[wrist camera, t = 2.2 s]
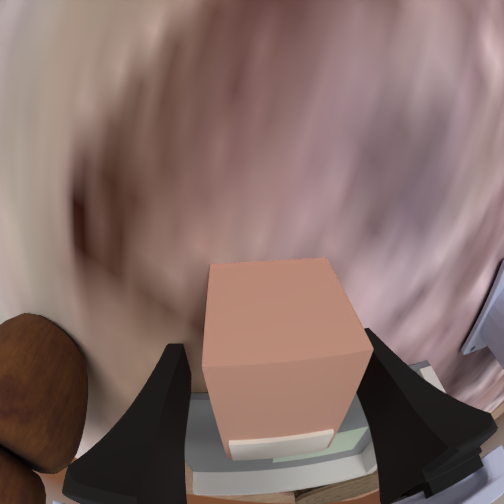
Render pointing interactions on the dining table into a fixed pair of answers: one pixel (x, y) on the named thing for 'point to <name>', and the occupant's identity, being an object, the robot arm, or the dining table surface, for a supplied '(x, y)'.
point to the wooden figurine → (38, 405)
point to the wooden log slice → (337, 490)
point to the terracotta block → (280, 356)
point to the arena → (283, 468)
